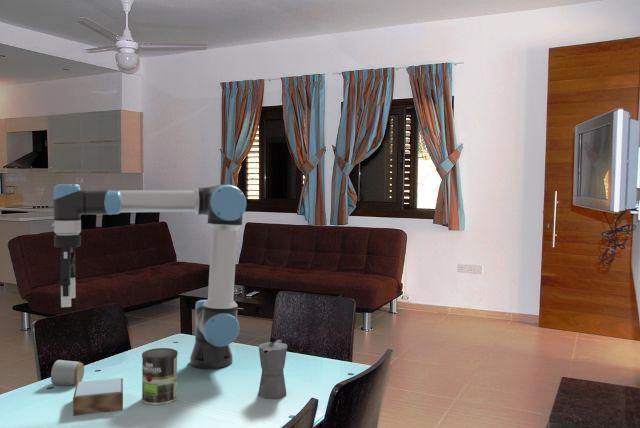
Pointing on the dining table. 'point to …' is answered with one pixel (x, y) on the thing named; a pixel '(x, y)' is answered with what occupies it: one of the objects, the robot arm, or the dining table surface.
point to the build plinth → (98, 396)
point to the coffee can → (159, 376)
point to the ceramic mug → (67, 372)
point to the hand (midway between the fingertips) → (68, 302)
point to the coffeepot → (272, 369)
